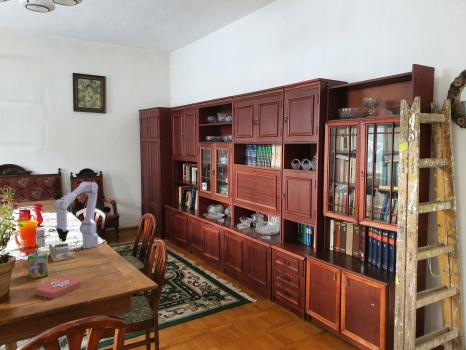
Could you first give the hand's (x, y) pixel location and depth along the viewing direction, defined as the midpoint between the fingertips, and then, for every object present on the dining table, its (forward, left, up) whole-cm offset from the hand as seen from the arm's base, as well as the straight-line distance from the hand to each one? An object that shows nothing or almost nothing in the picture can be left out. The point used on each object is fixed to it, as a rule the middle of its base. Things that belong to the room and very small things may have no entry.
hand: (62, 240), depth 231 cm
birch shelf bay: (+1, +1, -10) cm, 10 cm away
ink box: (+10, -32, -10) cm, 35 cm away
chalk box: (+18, +28, -10) cm, 35 cm away
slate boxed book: (+1, +3, -9) cm, 10 cm away
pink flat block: (+13, +55, -11) cm, 57 cm away
